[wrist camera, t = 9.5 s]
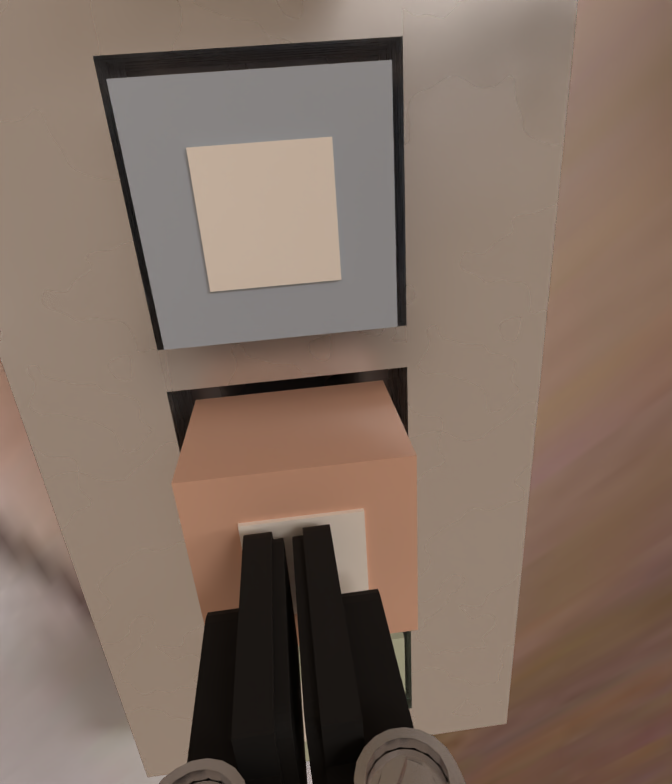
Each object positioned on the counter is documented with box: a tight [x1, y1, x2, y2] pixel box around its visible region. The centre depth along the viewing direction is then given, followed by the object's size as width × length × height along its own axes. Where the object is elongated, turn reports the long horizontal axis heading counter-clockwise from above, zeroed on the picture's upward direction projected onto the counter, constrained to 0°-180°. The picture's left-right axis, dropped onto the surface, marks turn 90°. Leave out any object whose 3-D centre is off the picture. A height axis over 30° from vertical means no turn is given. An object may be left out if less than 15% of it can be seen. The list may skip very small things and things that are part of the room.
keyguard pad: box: [0, 0, 578, 777], centre depth 14 cm, size 12×28×3 cm, turn 4°
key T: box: [106, 60, 398, 350], centre depth 11 cm, size 4×4×4 cm
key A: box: [171, 380, 418, 646], centre depth 13 cm, size 4×4×4 cm
